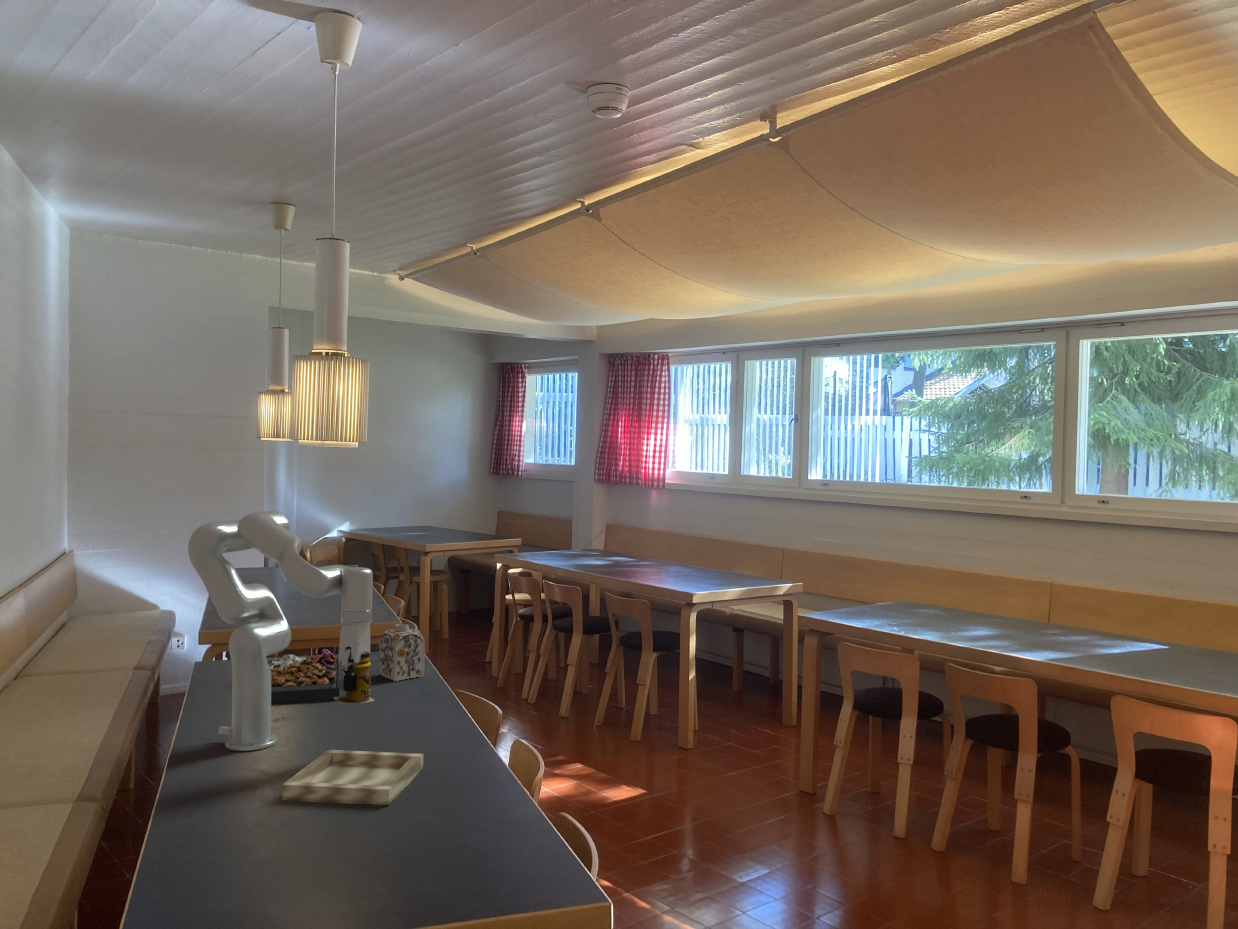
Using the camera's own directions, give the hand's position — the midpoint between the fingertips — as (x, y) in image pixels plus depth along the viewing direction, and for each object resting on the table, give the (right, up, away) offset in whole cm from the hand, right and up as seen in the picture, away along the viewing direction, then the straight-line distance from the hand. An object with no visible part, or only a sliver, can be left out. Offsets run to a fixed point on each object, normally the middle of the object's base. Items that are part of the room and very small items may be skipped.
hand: (355, 687), depth 225 cm
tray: (+6, -17, -19) cm, 27 cm away
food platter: (-39, -18, +69) cm, 81 cm away
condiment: (0, -3, 0) cm, 3 cm away
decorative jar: (-9, -18, +83) cm, 86 cm away
